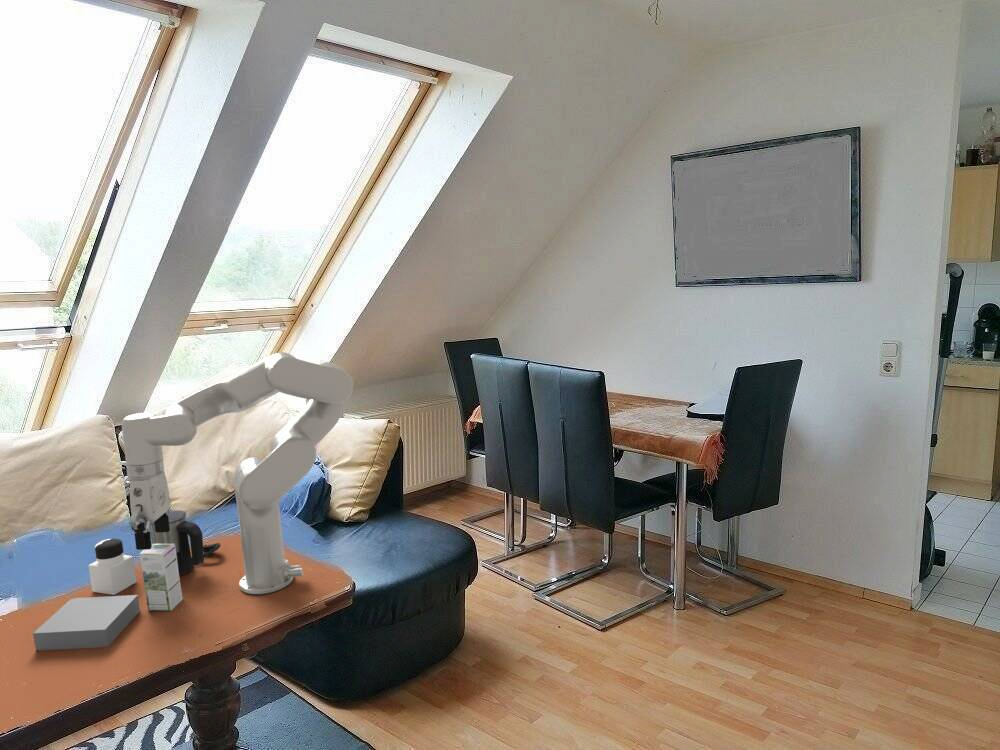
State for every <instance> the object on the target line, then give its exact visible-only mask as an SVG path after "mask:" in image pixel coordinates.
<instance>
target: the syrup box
mask: <svg viewBox="0 0 1000 750" xmlns="http://www.w3.org/2000/svg"><path fill="white" fill-rule="evenodd" d="M151 545H152V548H151V549H148V550H142V551H140V552H139V559H140V567H141V571H142V573H141V574H142V578H143V586H144V593H145V598H146V605H147V611H148V612H149V611H152V612H154V611H155V612H165V611H167V612H170V611H172V610H174V608H176V607H177V606H178V605H179V604H180V603H181V602H182V601H183V592H182V587H181V580H180V575H179V571H178V563H177V555H176V548H175V544H152V543H151Z"/></svg>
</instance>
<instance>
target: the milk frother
mask: <svg viewBox="0 0 1000 750" xmlns="http://www.w3.org/2000/svg"><path fill="white" fill-rule="evenodd" d="M186 516H187V512H186V511H184V510H178V509H176V510H169V514H168V517H169V526H170V531H169V532H158V533H157V532H155V524H154V522H152V521H150V524H149V532H150V536H151V544H175V548H176V555H177V563H178V571H179V576H183V575H185V574H187V573H188V572H190V571H192V570H193V569H194V567H195V566H199V565H200V564H202V563H203V562H204V561H205V559H206V557H208V556H209V555H211V554H213V553H216V551H218V550H219V549H220V548H221V546H222V545H221V543H219V542H216V543H213V544H204V541H203V540H204V538H203V532H202V529H201V528H200V526H199V525H197V524H196V523H195V522H193V521H187V517H186Z"/></svg>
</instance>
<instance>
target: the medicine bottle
mask: <svg viewBox="0 0 1000 750" xmlns="http://www.w3.org/2000/svg"><path fill="white" fill-rule="evenodd" d="M94 553H95V559H96V561H94V562H92V563H90V564H88V572H89V578H90V584H91V591H92V592H93V593H99V594H105V595H106V594H107V595H112V596H116V595H117V594H119V593H120V592H122V591H124V590H126V589H127V588H129V587H130V586H133V585H134V584H136V583H137V574H136V568H135V561H134V556H132V555H126V554H125V551H124V545H123V541H122V540H121V539H120V538H107V539H103V540H101V541H99V542H98V543H96V544H95V545H94Z"/></svg>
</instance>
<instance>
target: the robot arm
mask: <svg viewBox="0 0 1000 750" xmlns="http://www.w3.org/2000/svg"><path fill="white" fill-rule="evenodd" d="M353 391H354V380H353V378H352V376H351V375H350V373H349V372H348V371H346V370H345V369H343V368H342V367H341V366H340V365H338V364H336V363H333V362H329V361H328V362H327V361H326V362H322V363H319V364H318V363H313V362H310V361H306V360H303V359H298V358H296V357H295V356H294V355H292V354H291V353H288V352H283V351H282V352H281V351H280V352H276V353H273V354H271V355H268V356H267V357H265V358H263V359H261V360H260V361H258V362H255V363H254V364H252V365H251V366H248V367H247V368H245V369H243V370H241V371H239V372H237V373H235V374H233V375H231V376H230V377H227V378H225V379H223V380H220V381H218V382H216V383H214V384H212V385H209V386H207V387H204V388H202V389H200V390H198V391H196V392H193V393H191V394H190V395H189V396H186V397H184V398H182V399H180V400H178V401H177V402H175V403H173V404H171V405H170V406H168V407H166V409H165V410H164V411H163V412H162V414H161V415H160V416H157V415H156V414H154V413H151V412H141V413H140V412H139V413H134V414H133V413H132V414H129V415H127V416H125V417H124V418H123V419H122V421H121V432H122V439H123V441H122V442H123V448H124V450H123V451H124V455H125V456H124V457H125V464H126V466H125V467H126V473H127V479H129V501H130V502H129V503H130V512H131V515H130V518H129V524H130V527H131V529H132V532H133V534H134V539H135V540H134V543H135V549H136V550H138V551H141V550H142V551H143V550H148V549H151V548H152V545H151V544H152V540H151V534H150V531H149V529H150V527H149V524H150V521H152V522H154V524H155V532H157V533H158V532H169V531H170V526H169V517H168V514H169V511H170V508H171V505H172V504H171V498H170V491H169V485H168V481H167V477H166V473H165V465H164V464H165V463H164V456H163V446H164V447H165V446H166V447H167V446H168V447H177V446H179V447H180V446H184V445H187V444H189V443H191V442H192V441H193V440H194V439H195V437H196V436H197V432H198V427H200V426H201V425H202V424H204V423H206V422H209V421H211V420H213V419H214V418H218V417H219V416H223V415H225V414H232V413H233V414H234V413H240V412H245V411H247V410H250V409H251V408H253V407H255V406H256V405H258V404H260V403H262V402H263V401H266V400H267V399H269V398H271V397H272V396H274V395H276V394H278V393H281V394H285V395H289V396H292V397H296V398H301V399H306V400H308V402H307V403H306V404H305V406H304V407H303V408H302V409H301V410H300V412H299V413H298V414H297V415H296V416H294V417H293V418H292V419H291V420H290V421H289V422H288V423H287V424H286V425H284V427H283V428H281V429H280V430H279V431H278V432H276V434H274V435H273V436H272V439H271V440H270V443H269V454H268V455H267V456H266V457H265V458H263V457H260V456H259V457H257V456H252V457H249V458H248V457H247V458H246V459H244V460H242V461H241V462H239V464H238V465H237V466H236V469H235V471H234V473H233V487H234V495H235V500H236V507H237V514H238V521H239V522H238V524H239V531H240V542H241V549H242V558H243V559H242V560H243V566H244V567H243V569H244V576H243V577H242V578H241V579H240V580H239V583H238V584H239V589H240V590H241V591H242V592H243V593H245V594H249V595H264V594H265V595H266V594H271V593H274V592H277V591H280V590H282V589H284V588H286V587H287V586H289V585H290V584H291V583H292V582H293V580H294V577H303V576H304V569H303V567H301V564H296V565H291V564H290V563H289V562H290V561H289V559H285V549H284V539H283V529H282V522H281V521H282V519H281V510H280V502H279V501H280V500H281V499H282V498H283V497H284V496H285V495H287V494H288V493H289V492H290V491H291V490H292V489H293V488H294V487H295V486H296V485H297V484H298V483H299V482H300V481H302V480H303V478H304V477H305V476H307V475H308V473H309V472H310V471H311V469H312V467H314V464H315V463H316V458H317V449H316V446H317V445H318V444H319V443H320V442H321V441H322V440H323V439H324V438H325V437H326V436H327V435H328V434H329V433H330V432H331V431H332V430H333V429H334V427H336V425H337V423H338V422H339V421H340V418H341V417H342V413H343V411H344V406H345V402H346V400H348V399H349V397H351V395H352V393H353ZM141 523H142V524H141ZM143 523H144V525H143Z"/></svg>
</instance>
